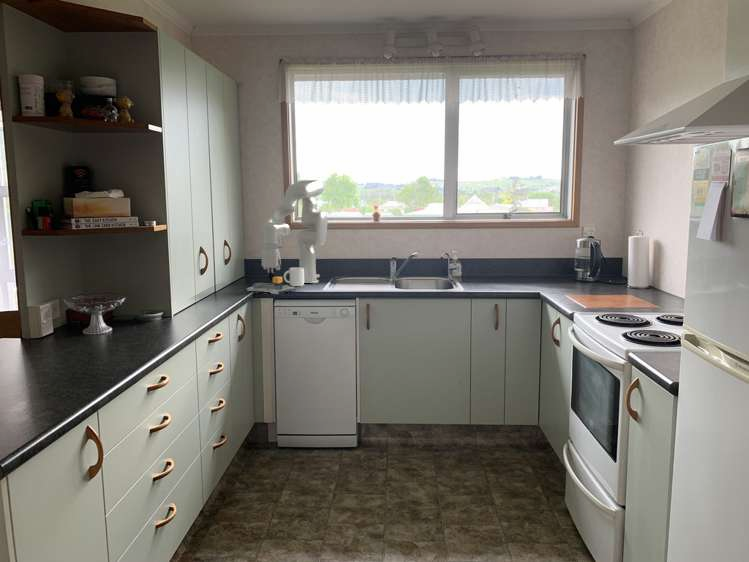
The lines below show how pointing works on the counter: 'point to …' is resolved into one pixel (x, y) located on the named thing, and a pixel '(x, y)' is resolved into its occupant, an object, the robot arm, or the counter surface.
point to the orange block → (277, 281)
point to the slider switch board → (269, 288)
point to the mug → (295, 276)
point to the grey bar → (286, 291)
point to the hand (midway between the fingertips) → (272, 280)
